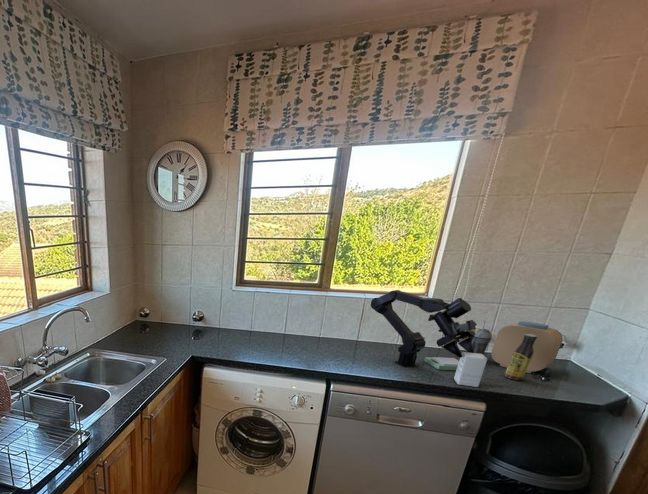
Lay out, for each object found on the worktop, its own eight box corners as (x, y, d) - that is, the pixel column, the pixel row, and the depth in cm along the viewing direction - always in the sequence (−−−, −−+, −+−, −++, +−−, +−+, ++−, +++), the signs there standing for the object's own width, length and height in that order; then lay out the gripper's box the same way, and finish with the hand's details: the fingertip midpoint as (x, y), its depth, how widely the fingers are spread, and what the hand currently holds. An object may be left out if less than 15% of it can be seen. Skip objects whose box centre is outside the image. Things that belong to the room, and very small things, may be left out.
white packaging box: (473, 381, 173) (482, 353, 168) (478, 387, 166) (488, 358, 162) (453, 378, 176) (461, 351, 171) (457, 384, 169) (465, 356, 165)
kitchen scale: (438, 369, 186) (439, 364, 185) (424, 361, 197) (425, 356, 196) (468, 370, 185) (469, 365, 184) (452, 362, 196) (453, 357, 195)
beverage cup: (487, 362, 196) (500, 322, 189) (470, 361, 197) (483, 321, 190) (479, 357, 203) (491, 318, 195) (462, 356, 204) (474, 318, 197)
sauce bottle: (500, 375, 179) (515, 332, 172) (513, 375, 180) (529, 332, 173) (513, 381, 173) (530, 337, 166) (527, 380, 174) (544, 336, 167)
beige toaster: (550, 373, 183) (568, 326, 175) (542, 377, 178) (561, 329, 170) (495, 360, 199) (510, 317, 191) (487, 363, 194) (502, 319, 187)
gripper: (452, 316, 163) (474, 349, 158) (476, 311, 171) (499, 343, 166) (427, 330, 172) (447, 362, 167) (451, 325, 181) (471, 355, 175)
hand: (467, 355), depth 169 cm, fingers open, 9 cm apart
